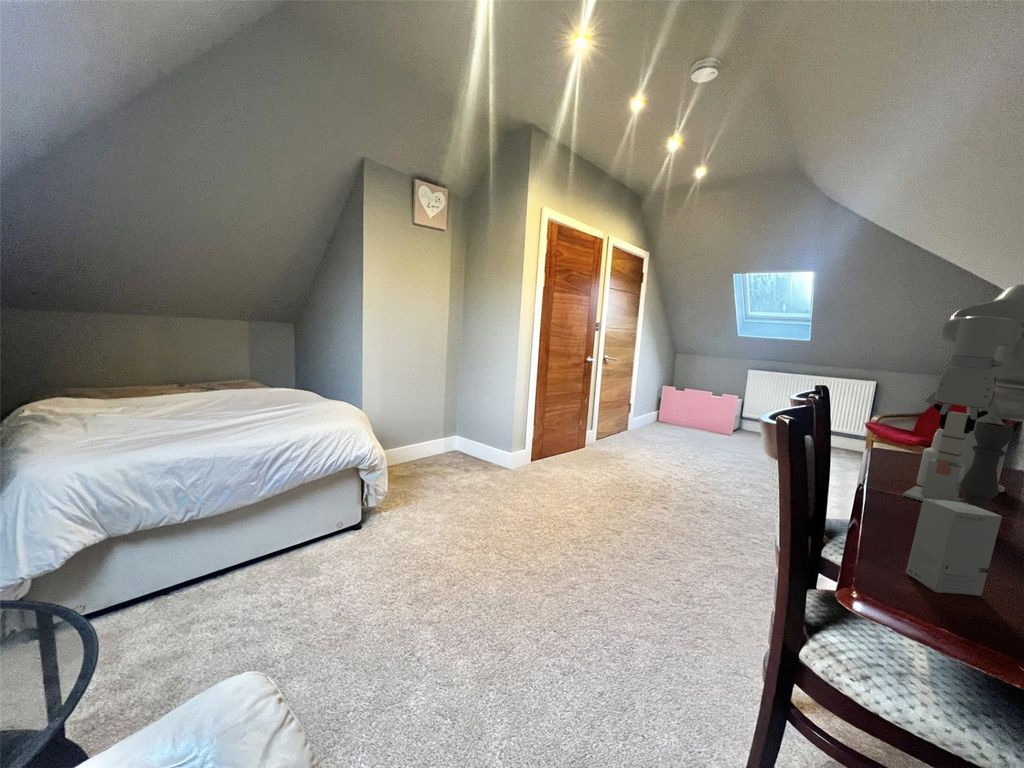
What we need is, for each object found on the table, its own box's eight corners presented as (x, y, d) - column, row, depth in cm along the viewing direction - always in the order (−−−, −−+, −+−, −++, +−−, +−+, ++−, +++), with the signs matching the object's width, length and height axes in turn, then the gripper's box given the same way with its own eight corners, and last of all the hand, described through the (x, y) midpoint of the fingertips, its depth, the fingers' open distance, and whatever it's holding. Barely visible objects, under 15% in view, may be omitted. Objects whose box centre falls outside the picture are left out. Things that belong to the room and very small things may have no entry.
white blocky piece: (915, 489, 122) (923, 451, 120) (974, 505, 112) (985, 464, 110) (902, 496, 115) (911, 456, 113) (964, 514, 105) (975, 470, 103)
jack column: (936, 471, 115) (950, 411, 112) (955, 476, 112) (971, 414, 109) (932, 473, 113) (947, 412, 110) (952, 478, 110) (968, 415, 107)
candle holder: (997, 532, 96) (1024, 429, 92) (970, 530, 96) (996, 427, 92) (968, 519, 102) (993, 422, 98) (943, 517, 102) (967, 420, 98)
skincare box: (935, 593, 70) (955, 512, 68) (902, 572, 76) (920, 497, 74) (984, 597, 70) (1006, 515, 68) (947, 575, 76) (966, 500, 74)
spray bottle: (946, 493, 120) (961, 434, 117) (914, 485, 125) (927, 428, 122) (948, 488, 124) (962, 431, 121) (917, 481, 129) (930, 425, 126)
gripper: (1022, 367, 103) (1004, 438, 106) (931, 360, 117) (917, 422, 119) (1018, 367, 99) (999, 441, 102) (923, 360, 112) (909, 424, 115)
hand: (955, 430), depth 110 cm, fingers closed on jack column, 3 cm apart
